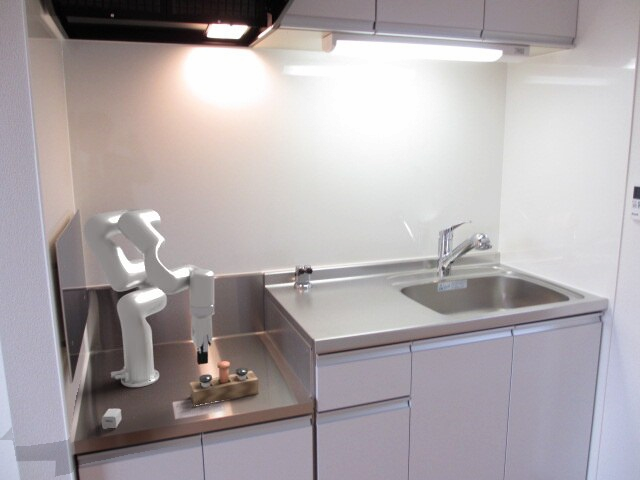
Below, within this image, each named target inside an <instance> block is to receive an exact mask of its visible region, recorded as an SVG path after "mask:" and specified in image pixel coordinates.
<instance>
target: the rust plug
mask: <svg viewBox="0 0 640 480" xmlns="http://www.w3.org/2000/svg"><path fill="white" fill-rule="evenodd" d="M230 363H231V362H230V361H226V360H225V361H224V360H223V361H218V362H217V368H218V375H219V376H218V377H219V380H220V384H225V383H229V375H230V374H229V373H230V372H229V368H230V366H231V364H230Z"/></svg>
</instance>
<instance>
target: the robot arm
mask: <svg viewBox="0 0 640 480" xmlns="http://www.w3.org/2000/svg"><path fill="white" fill-rule="evenodd" d="M161 226H162V220H161V217H160V215H159V213H158V212H157V211H155V210H154V209H152V208H135V209H133V208H129V209H120V210H115V211H114V210H113V211H108V212H100V213H97V214H95V215H92V216H90V217H88V219H86V221H85V222H84V225H83V237H84V241H85V242H86V244H87V247H89V249H90V251H91V252H92V253H93V254H94V256H95V257H96V259H97V260H98V263H99V265H100V268H101V270H102V272H103V273H104V276H105V278H106V280H107V281H108V283H109V285H110V287H111V288H112V290H114V291H116V293H117V292H125V291H129V290H132V289H135V288H139V289H138V290H134V291H132V292H129V293H127V294H125V295H123V296H122V297H121V298H120V299H119V300H118V301H117V303H116V311H117V315H118V318H119V322H120V327H121V333H122V334H121V335H122V345H123V346H122V347H123V361H124V365H123V368H122V369H120V370H118V371H111V372H110V375H111V376H110V377H111V378H112V379H113V378H115V380H120V383H121V384H122V385H123V386H125V387H128V388H142V387H146V386H149V385H152V384H154V383H156V382H157V381H158V380H159V378H160V372H159V371H158V370H156V368H155V363H154V349H153V348H154V346H153V331H152V327H151V325H150V324H149V323H148V321H147V319H146V318H147V317H149V316H151V315H154V314H156V313H158V312H160V311H162V310H164V309H165V307H166V306H167V302H168V297H167V295H175V294H177V293H180V292H182V291H186V290H189V315H190V316H191V320H190V321H191V323H190V324H191V325H190V327H191V328H190V330H191V331H190V338H191V341H192V343H193V344H194V347H196V350H197V351H196V362H197V365H205V364H208V363H209V347H211V346H212V345H213V320H212V316H214V315H215V273H214V272H213V271H212V270H210V269H205V268H204V269H203V268H200V267H198V266H196V265H193V264H191V263H190V264H189V263H188V264H184V265H183V264H182V265H180V266H177V267H174V268H170V269H167V268H166V267H165V266H164V265H163V264H162V263H161V261H160V260H159V257H158V256H159V255H160V254H161V253H162V252H163V250H164V248H165V246H166V238H164V236H162V235H161V234H160V232H159V231H158V230H159V229H160V228H161ZM118 236H124V237H125V238H126V239H127V240H128V242H130V243H131V244H132V245H133V247H134V248H135V249H136V250H137V251H138V252H139V253H140V254H141V255H142V256H143V258H134V259H130V260H129V259H128V258H127V256H126V255H125V252H124V250H123V249H122V247H121V245H119V244H117V243H116V242H115V241H113V240H112V239H111V238H113V237H118Z"/></svg>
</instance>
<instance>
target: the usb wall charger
mask: <svg viewBox="0 0 640 480" xmlns="http://www.w3.org/2000/svg"><path fill="white" fill-rule="evenodd" d="M121 421H122V409H120V408H108V409H107V410H106V412H105V413H104V414H103V416H102V417H101V423H102V428H103V430H108V429H107V428H116V429H117V428H118V426H119V424H120V423H121Z"/></svg>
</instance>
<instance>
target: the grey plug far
mask: <svg viewBox="0 0 640 480" xmlns="http://www.w3.org/2000/svg"><path fill="white" fill-rule="evenodd" d="M248 371H249V369H248V368H246V367H239V368H238V367H237V368H236V369H235V374H237V380H238V381H240V380H245V379H247V378H246V374H247V373H248Z"/></svg>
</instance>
